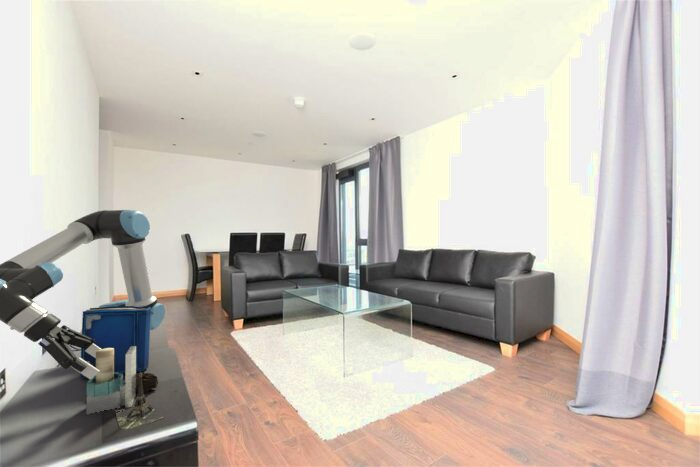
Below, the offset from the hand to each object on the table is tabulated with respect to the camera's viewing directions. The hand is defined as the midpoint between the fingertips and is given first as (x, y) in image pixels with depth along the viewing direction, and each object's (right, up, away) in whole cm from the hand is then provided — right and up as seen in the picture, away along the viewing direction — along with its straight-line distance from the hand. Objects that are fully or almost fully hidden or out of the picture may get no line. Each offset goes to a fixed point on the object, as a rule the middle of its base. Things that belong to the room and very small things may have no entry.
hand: (101, 366), depth 95 cm
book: (-13, -13, +24) cm, 31 cm away
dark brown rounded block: (+2, -13, +9) cm, 16 cm away
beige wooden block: (+1, -7, 0) cm, 7 cm away
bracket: (+2, -12, +1) cm, 12 cm away
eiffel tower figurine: (+14, -13, -4) cm, 19 cm away
